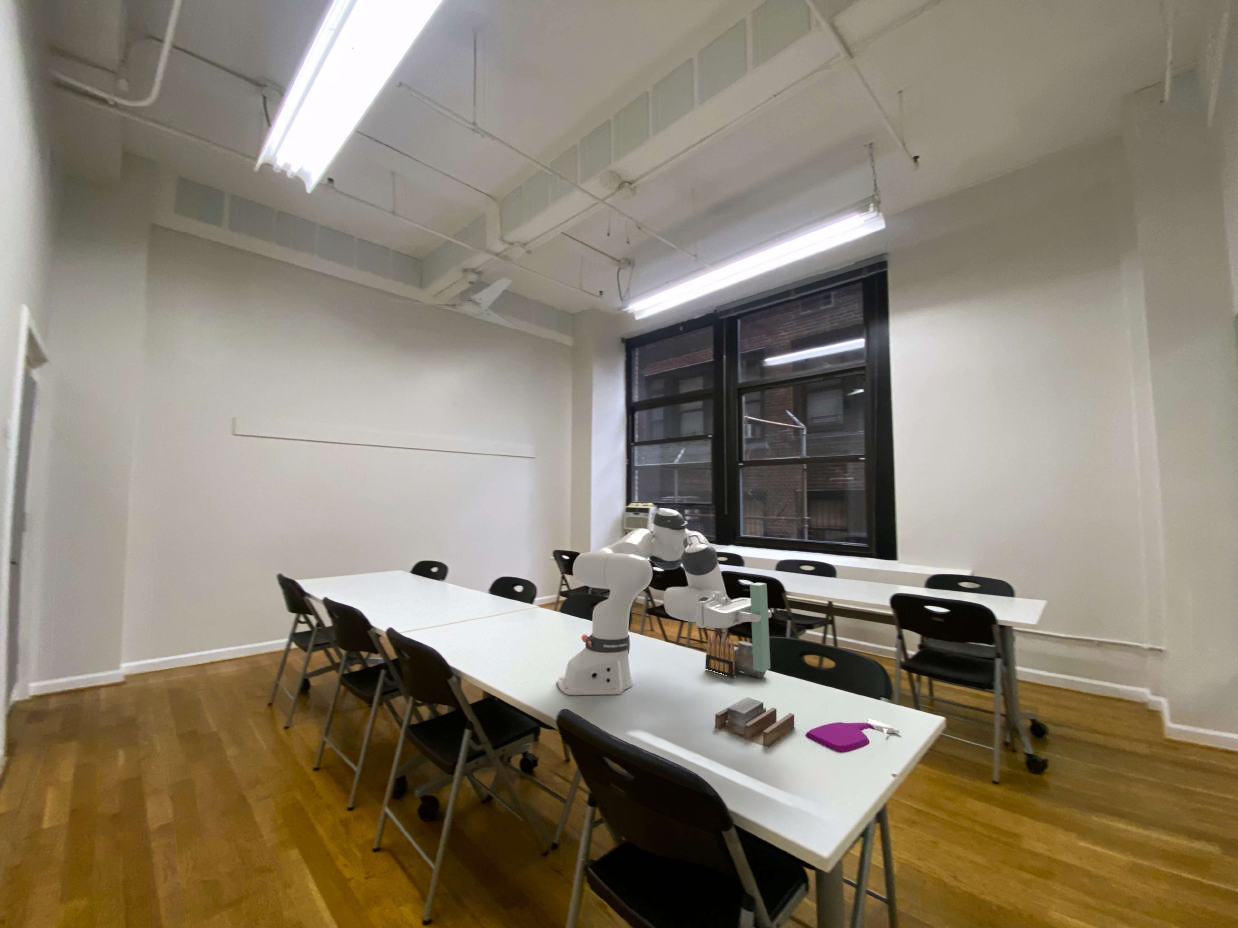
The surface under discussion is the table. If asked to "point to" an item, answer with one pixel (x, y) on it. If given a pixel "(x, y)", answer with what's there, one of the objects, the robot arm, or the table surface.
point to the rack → (760, 727)
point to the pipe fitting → (746, 659)
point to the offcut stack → (743, 714)
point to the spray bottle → (846, 734)
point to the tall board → (760, 627)
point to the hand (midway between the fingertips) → (764, 616)
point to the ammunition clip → (721, 656)
